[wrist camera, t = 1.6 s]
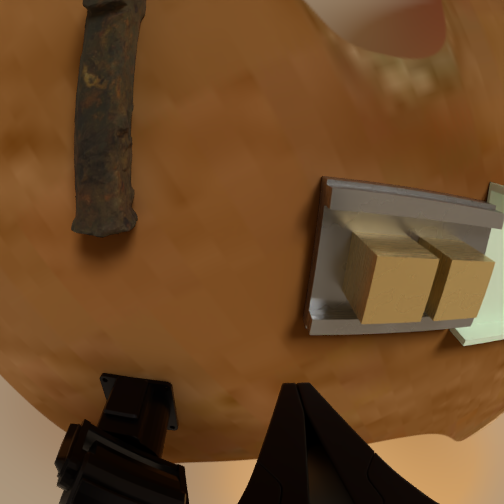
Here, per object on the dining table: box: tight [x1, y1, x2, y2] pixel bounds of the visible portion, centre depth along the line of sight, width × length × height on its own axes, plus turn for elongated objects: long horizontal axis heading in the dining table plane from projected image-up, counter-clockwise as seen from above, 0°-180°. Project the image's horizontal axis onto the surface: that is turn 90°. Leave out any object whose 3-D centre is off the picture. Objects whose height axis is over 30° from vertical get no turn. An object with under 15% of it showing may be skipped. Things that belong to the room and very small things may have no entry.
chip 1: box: [342, 231, 439, 324], centre depth 18 cm, size 4×4×4 cm
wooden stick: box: [71, 0, 146, 237], centre depth 14 cm, size 19×4×5 cm, turn 173°
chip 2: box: [418, 237, 495, 321], centre depth 18 cm, size 4×4×4 cm
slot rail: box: [303, 176, 504, 335], centre depth 20 cm, size 10×14×2 cm
